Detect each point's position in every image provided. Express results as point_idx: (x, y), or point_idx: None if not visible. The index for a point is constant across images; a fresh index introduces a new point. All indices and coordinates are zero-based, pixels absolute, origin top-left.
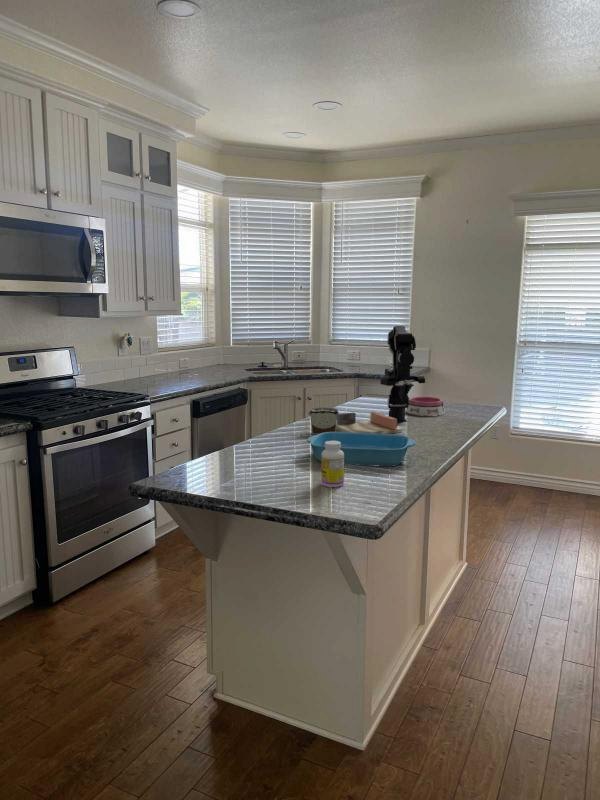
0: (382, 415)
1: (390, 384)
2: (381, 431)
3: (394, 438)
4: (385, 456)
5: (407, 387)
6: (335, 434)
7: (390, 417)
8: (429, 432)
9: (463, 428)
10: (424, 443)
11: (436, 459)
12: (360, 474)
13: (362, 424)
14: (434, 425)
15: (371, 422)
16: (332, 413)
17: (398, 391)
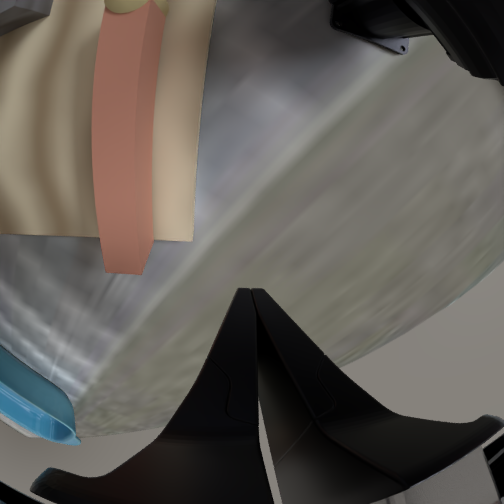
0: (109, 124)
1: (8, 497)
2: (68, 235)
3: (51, 410)
4: (32, 420)
5: (283, 492)
6: None
7: (123, 217)
8: (299, 288)
9: (431, 288)
10: (166, 374)
11: (125, 425)
12: None
13: (58, 51)
14: (423, 200)
15: None
16: None
17: (195, 391)
